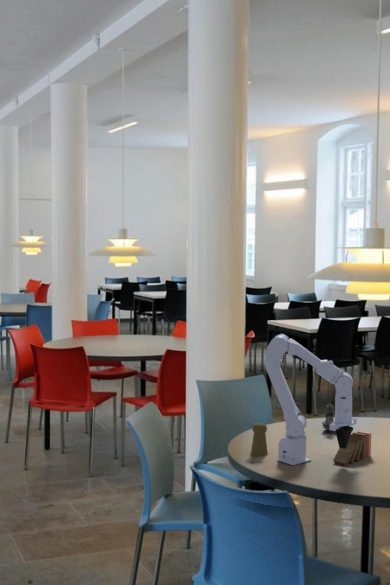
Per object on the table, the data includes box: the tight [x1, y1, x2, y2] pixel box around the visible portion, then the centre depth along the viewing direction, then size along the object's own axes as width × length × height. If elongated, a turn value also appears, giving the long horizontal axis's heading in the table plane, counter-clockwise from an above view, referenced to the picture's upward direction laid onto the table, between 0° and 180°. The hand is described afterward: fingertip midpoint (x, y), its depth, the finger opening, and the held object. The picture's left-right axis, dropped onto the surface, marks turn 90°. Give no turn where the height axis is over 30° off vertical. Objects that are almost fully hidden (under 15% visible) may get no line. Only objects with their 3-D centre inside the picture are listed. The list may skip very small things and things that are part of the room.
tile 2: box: [348, 438, 361, 464], centre depth 286 cm, size 2×5×8 cm
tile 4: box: [351, 432, 367, 460], centre depth 291 cm, size 2×5×8 cm, turn 49°
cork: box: [250, 422, 269, 457], centre depth 294 cm, size 6×6×11 cm
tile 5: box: [356, 430, 372, 458], centre depth 294 cm, size 2×5×8 cm, turn 49°
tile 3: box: [349, 433, 364, 462], centre depth 289 cm, size 2×5×8 cm, turn 49°
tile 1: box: [332, 442, 357, 467], centre depth 284 cm, size 2×5×8 cm
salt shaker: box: [321, 402, 335, 435], centre depth 327 cm, size 6×6×12 cm
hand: (342, 447), depth 282 cm, fingers closed
